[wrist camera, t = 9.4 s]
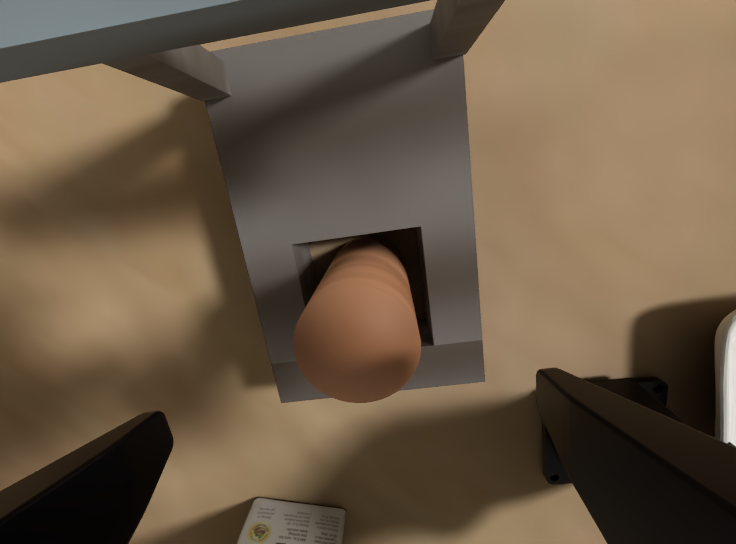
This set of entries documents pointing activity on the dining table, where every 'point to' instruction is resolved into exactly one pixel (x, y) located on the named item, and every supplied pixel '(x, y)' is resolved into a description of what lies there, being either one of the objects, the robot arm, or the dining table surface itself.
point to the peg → (360, 325)
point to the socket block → (308, 139)
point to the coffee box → (292, 523)
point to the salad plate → (726, 379)
